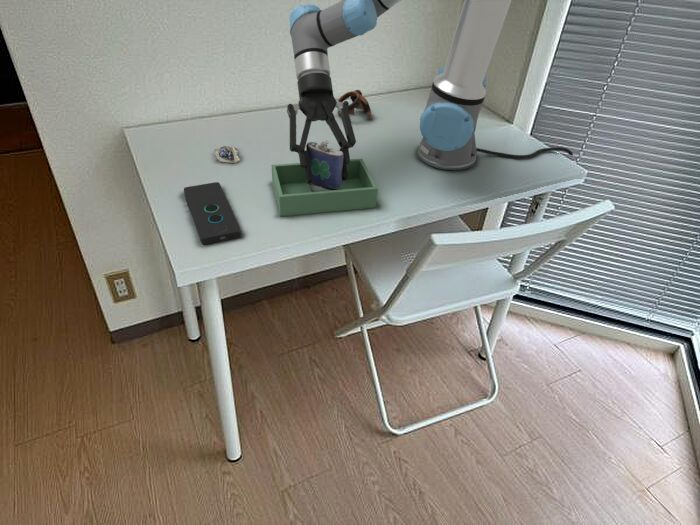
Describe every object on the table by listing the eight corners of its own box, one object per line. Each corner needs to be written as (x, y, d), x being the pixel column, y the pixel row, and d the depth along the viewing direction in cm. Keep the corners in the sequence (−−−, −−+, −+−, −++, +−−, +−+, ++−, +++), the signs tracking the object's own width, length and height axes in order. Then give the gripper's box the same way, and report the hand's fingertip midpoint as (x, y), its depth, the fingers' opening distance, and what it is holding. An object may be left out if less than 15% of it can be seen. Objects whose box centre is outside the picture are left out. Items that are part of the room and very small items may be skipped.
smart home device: (200, 238, 100) (182, 187, 114) (201, 245, 101) (183, 193, 115) (241, 230, 103) (219, 181, 117) (242, 237, 104) (220, 187, 118)
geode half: (231, 146, 133) (231, 139, 132) (248, 158, 129) (248, 151, 128) (208, 153, 130) (207, 146, 129) (225, 166, 125) (224, 159, 124)
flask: (344, 187, 115) (346, 144, 108) (337, 193, 113) (338, 149, 106) (309, 175, 119) (309, 133, 112) (302, 181, 117) (301, 138, 110)
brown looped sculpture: (373, 125, 148) (361, 103, 143) (343, 135, 152) (331, 114, 146) (375, 99, 155) (364, 77, 150) (347, 109, 159) (335, 88, 153)
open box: (360, 176, 125) (362, 158, 122) (376, 207, 115) (378, 188, 112) (272, 183, 121) (271, 164, 117) (280, 216, 111) (279, 196, 107)
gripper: (354, 84, 119) (367, 180, 117) (267, 88, 114) (280, 188, 113) (361, 69, 111) (376, 171, 110) (269, 72, 107) (283, 179, 106)
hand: (327, 180), depth 111 cm, fingers closed on flask, 7 cm apart
